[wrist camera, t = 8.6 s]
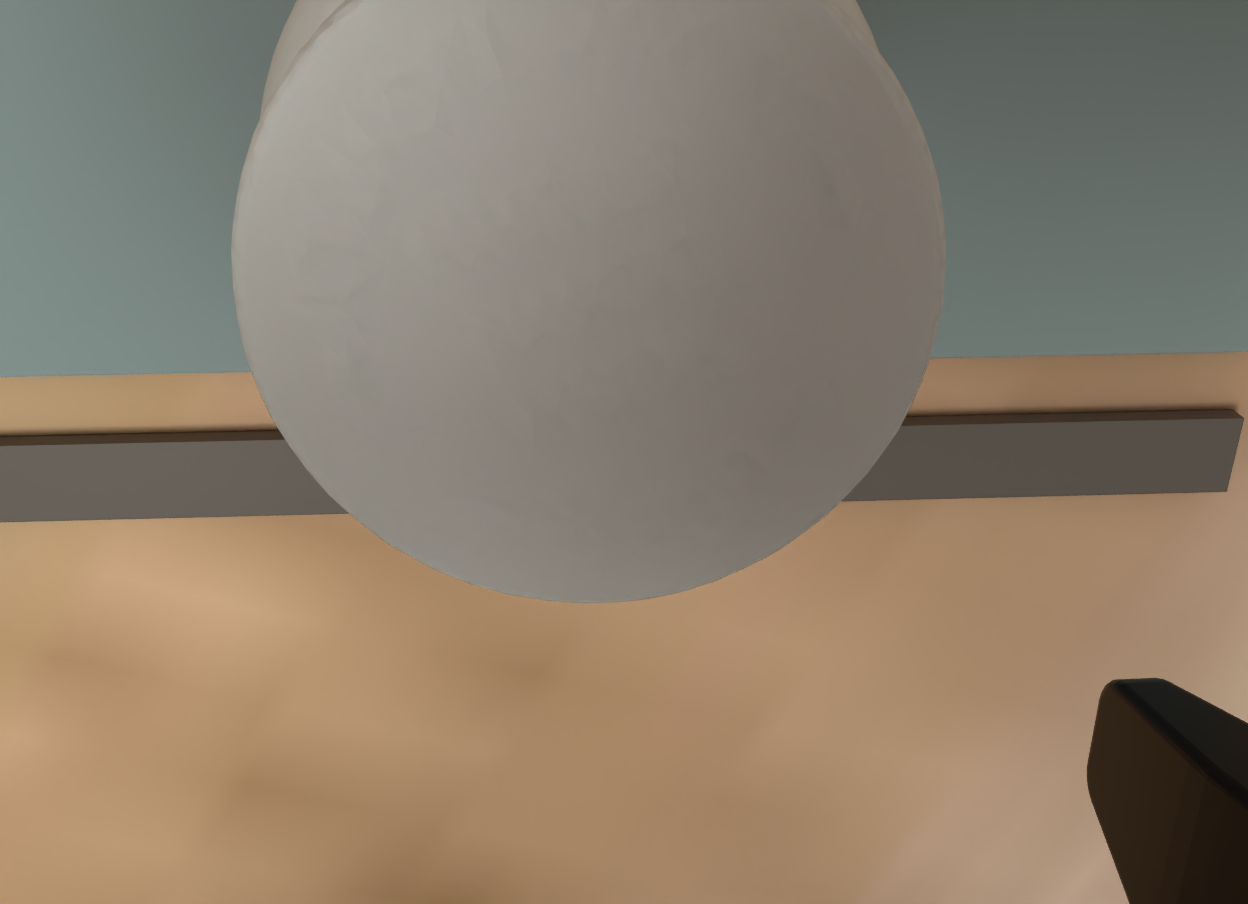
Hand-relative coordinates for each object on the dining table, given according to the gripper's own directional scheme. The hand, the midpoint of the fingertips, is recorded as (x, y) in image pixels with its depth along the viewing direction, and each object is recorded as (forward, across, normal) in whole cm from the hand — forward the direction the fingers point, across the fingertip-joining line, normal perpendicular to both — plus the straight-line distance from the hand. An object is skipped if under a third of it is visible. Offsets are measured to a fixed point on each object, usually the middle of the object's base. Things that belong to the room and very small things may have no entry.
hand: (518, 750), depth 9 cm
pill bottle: (+12, -1, -4) cm, 13 cm away
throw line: (+12, -1, +3) cm, 13 cm away
